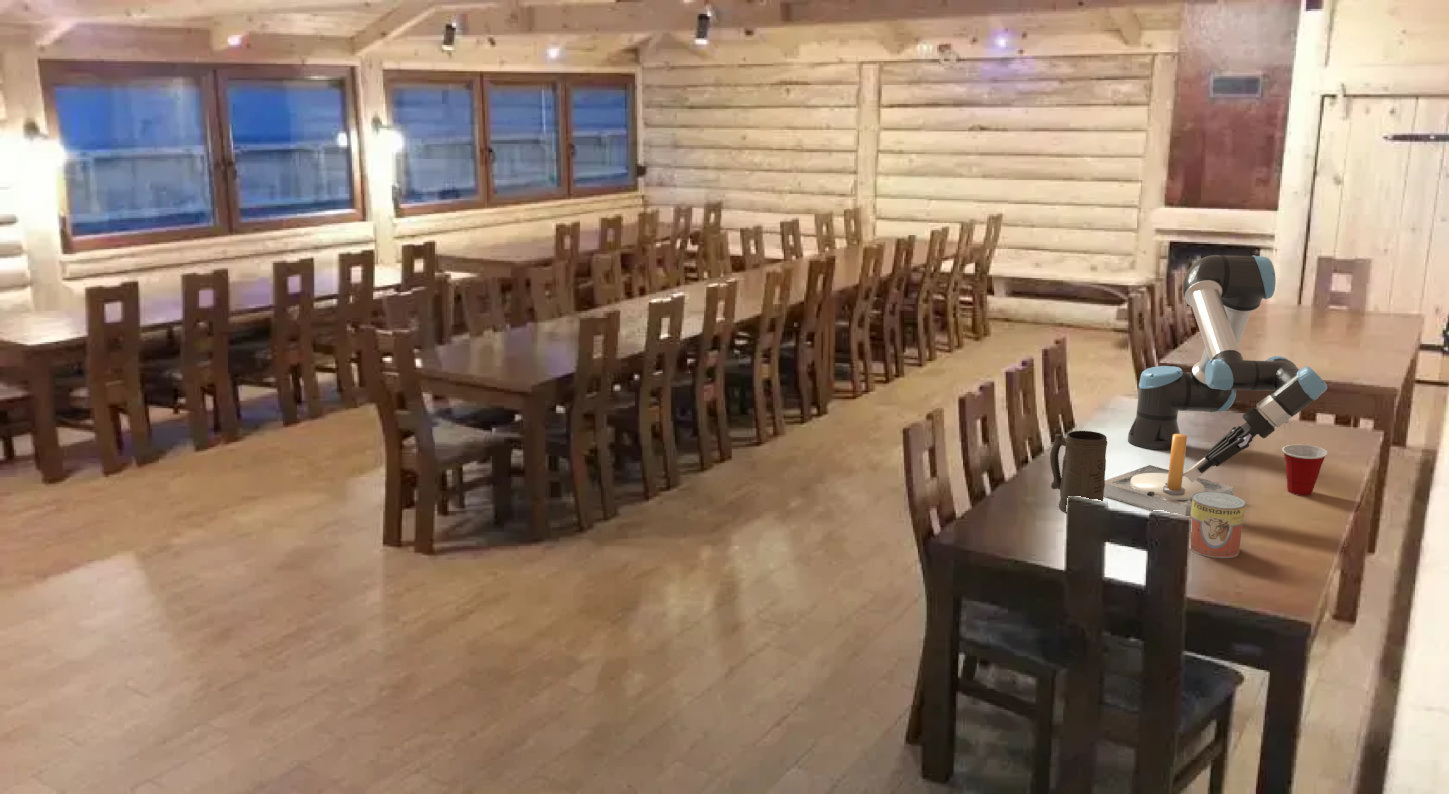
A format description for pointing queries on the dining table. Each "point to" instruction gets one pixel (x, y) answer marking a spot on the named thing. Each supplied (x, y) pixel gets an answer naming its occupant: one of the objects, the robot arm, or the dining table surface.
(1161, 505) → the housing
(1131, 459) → the dining table surface
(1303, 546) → the dining table surface
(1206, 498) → the canned food
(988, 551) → the dining table surface
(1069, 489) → the beer stein
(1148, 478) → the dial
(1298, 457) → the plastic cup
